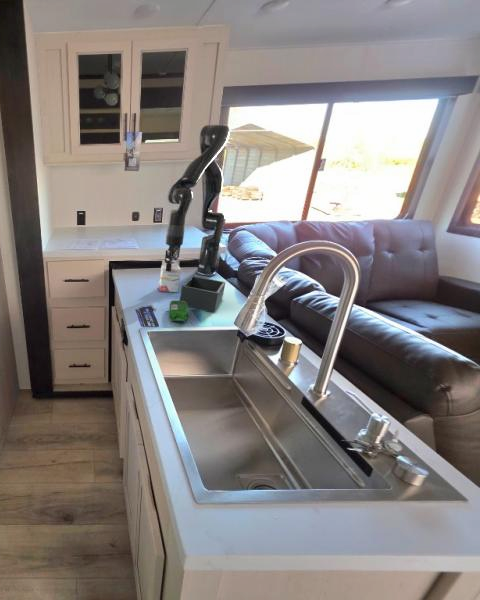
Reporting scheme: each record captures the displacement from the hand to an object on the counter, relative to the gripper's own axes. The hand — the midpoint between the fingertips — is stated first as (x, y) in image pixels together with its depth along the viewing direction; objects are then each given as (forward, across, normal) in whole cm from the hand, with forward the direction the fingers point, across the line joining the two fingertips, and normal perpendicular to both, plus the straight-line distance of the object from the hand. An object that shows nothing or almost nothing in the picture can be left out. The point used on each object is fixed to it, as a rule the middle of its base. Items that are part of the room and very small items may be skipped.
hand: (170, 269), depth 148 cm
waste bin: (+11, -6, -17) cm, 21 cm away
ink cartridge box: (+11, 0, 0) cm, 11 cm away
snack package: (+11, -26, -13) cm, 31 cm away
